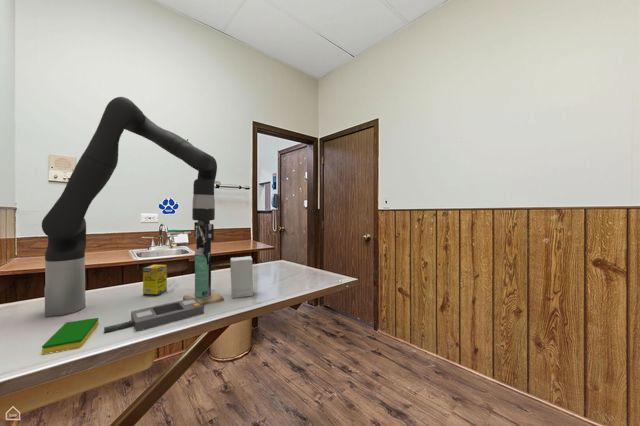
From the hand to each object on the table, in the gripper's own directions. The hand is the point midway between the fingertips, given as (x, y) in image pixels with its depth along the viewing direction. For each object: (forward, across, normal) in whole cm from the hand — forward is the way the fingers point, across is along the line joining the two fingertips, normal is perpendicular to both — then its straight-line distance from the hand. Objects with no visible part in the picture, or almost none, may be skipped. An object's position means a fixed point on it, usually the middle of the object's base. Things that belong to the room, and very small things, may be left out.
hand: (203, 251), depth 94 cm
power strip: (+19, +7, -16) cm, 26 cm away
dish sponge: (+19, +5, -34) cm, 40 cm away
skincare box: (+18, +4, +13) cm, 23 cm away
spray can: (+18, 0, 0) cm, 18 cm away
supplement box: (+19, -20, -12) cm, 30 cm away
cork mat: (+18, 0, 0) cm, 18 cm away
